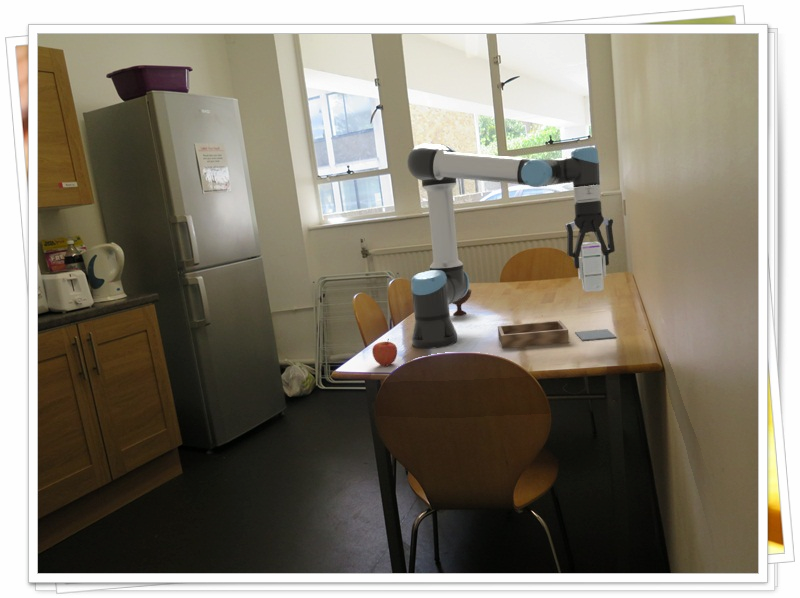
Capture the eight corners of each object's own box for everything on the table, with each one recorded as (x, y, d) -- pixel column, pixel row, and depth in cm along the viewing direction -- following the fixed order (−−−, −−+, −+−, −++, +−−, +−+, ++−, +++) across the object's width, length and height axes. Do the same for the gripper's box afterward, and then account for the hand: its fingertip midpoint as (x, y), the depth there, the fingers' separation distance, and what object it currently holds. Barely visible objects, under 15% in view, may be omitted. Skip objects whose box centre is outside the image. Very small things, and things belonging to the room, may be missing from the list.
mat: (582, 340, 172) (582, 339, 172) (575, 333, 182) (575, 331, 181) (616, 338, 171) (616, 336, 171) (607, 330, 181) (607, 329, 180)
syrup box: (604, 290, 170) (602, 242, 168) (583, 292, 172) (581, 244, 169) (601, 287, 176) (599, 241, 173) (581, 289, 177) (579, 242, 175)
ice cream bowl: (465, 310, 237) (462, 274, 235) (477, 314, 227) (474, 277, 224) (442, 314, 234) (438, 278, 232) (453, 318, 224) (449, 281, 221)
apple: (376, 362, 174) (372, 337, 173) (399, 360, 173) (396, 335, 172) (372, 369, 167) (369, 343, 166) (397, 367, 166) (394, 341, 165)
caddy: (502, 348, 174) (501, 335, 173) (498, 337, 187) (497, 326, 186) (569, 342, 172) (568, 329, 171) (560, 332, 184) (560, 320, 184)
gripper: (557, 204, 167) (562, 282, 170) (624, 197, 165) (628, 275, 168) (552, 204, 174) (558, 279, 178) (616, 197, 172) (621, 272, 176)
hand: (592, 277), depth 173 cm, fingers closed on syrup box, 6 cm apart
